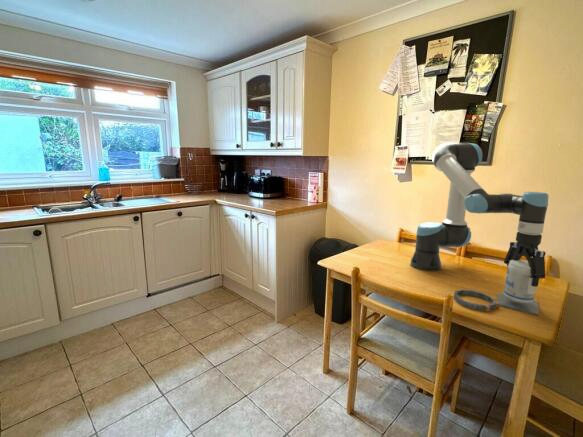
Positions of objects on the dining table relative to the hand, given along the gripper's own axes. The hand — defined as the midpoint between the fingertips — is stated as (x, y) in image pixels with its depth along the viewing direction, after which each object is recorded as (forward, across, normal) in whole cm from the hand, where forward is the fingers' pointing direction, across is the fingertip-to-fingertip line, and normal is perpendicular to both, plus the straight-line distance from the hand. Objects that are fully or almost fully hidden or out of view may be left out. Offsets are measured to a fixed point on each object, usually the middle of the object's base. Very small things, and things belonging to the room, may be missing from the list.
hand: (519, 287), depth 117 cm
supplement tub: (+5, 0, 0) cm, 5 cm away
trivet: (+7, 0, 0) cm, 7 cm away
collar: (+7, -2, -16) cm, 18 cm away
